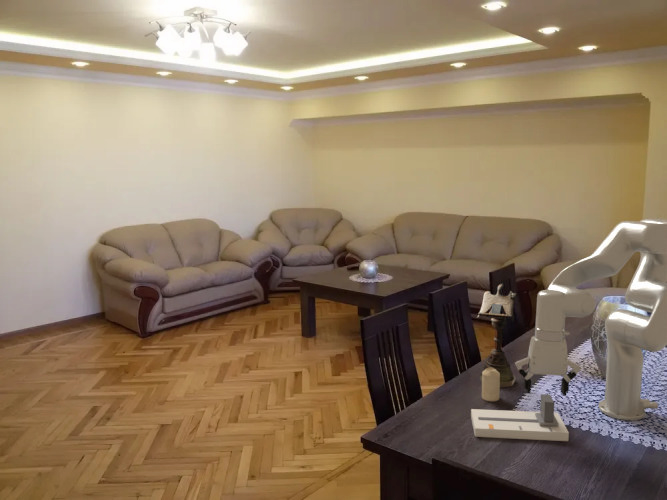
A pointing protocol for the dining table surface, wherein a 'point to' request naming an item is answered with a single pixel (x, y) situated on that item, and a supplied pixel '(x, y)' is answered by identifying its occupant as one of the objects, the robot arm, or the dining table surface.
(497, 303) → the bird statue
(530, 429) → the fader console
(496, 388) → the candle
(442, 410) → the dining table surface
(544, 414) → the fader tab
